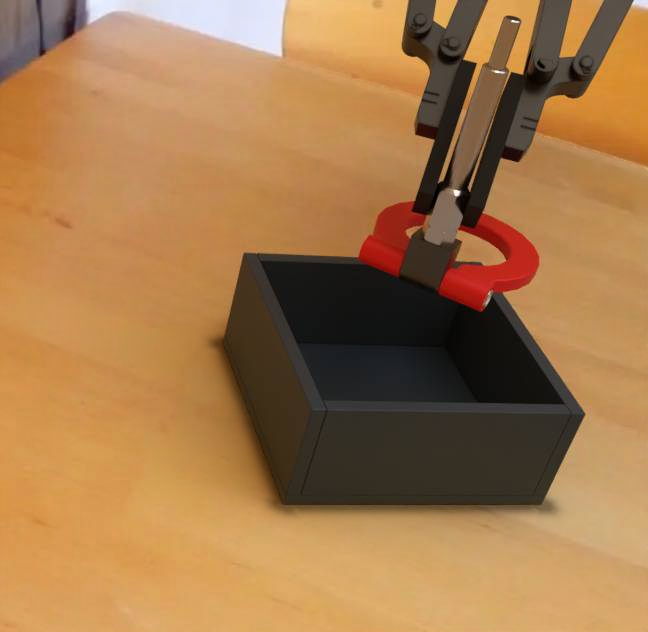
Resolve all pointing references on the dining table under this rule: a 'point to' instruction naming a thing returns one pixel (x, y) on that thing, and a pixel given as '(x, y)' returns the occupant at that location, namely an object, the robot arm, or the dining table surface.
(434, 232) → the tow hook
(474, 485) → the tote
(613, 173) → the dining table surface
